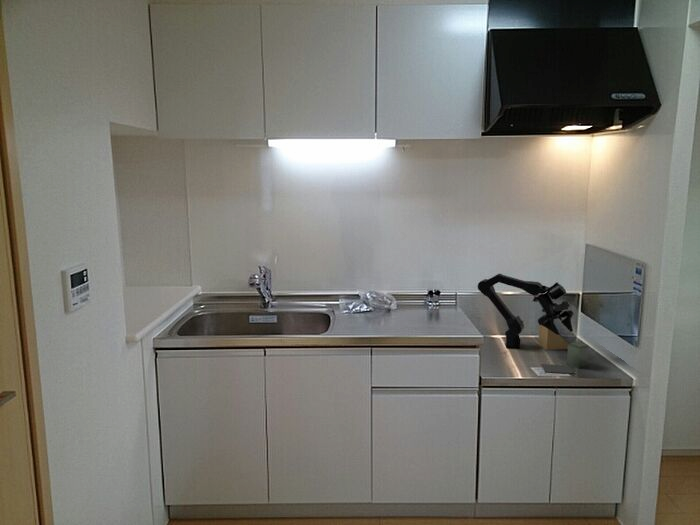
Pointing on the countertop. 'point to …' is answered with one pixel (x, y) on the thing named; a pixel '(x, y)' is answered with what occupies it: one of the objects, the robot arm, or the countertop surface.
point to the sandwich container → (551, 339)
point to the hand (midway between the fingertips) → (565, 332)
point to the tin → (577, 354)
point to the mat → (557, 369)
